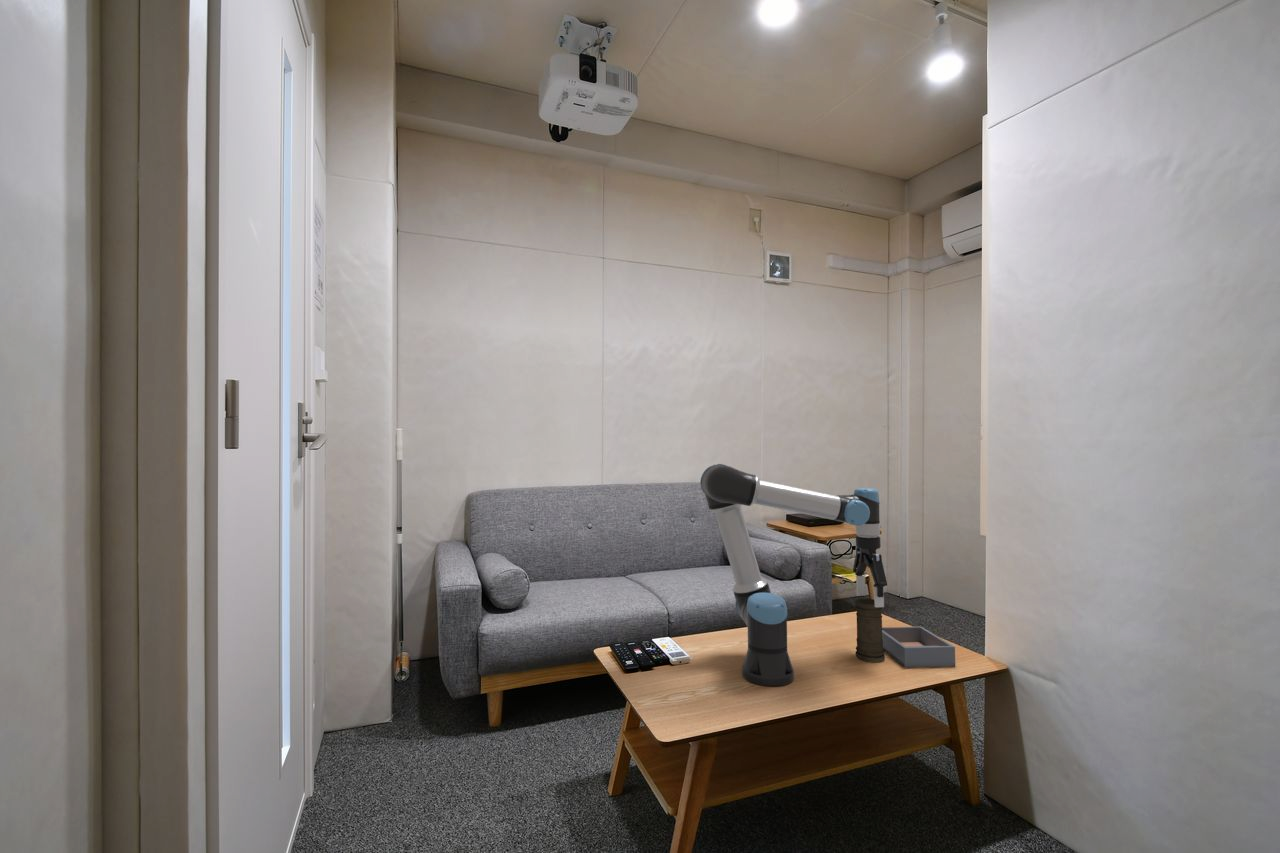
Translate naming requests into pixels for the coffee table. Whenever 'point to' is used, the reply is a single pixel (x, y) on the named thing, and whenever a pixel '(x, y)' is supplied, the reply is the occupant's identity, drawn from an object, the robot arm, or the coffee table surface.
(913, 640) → the walled box
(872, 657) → the container
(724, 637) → the coffee table surface
